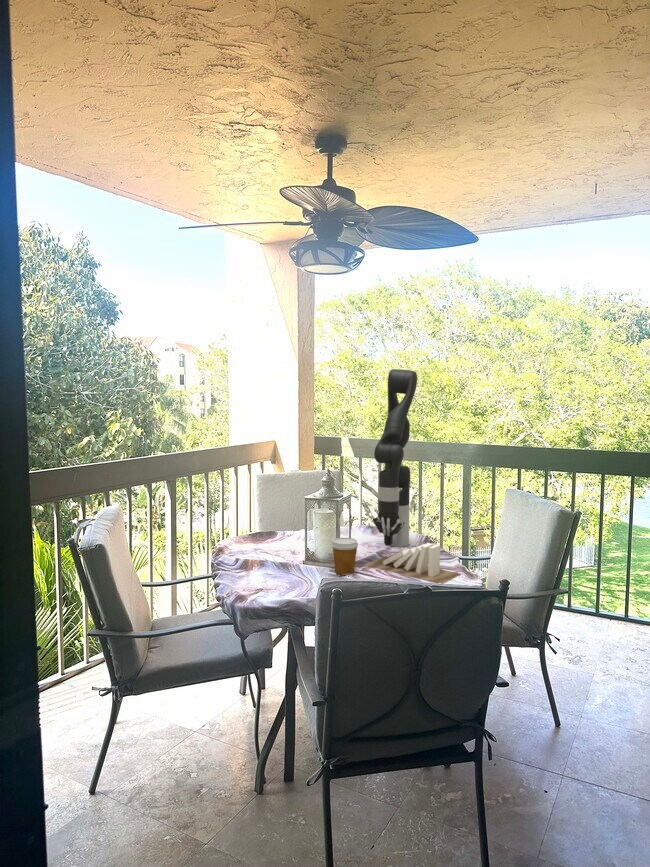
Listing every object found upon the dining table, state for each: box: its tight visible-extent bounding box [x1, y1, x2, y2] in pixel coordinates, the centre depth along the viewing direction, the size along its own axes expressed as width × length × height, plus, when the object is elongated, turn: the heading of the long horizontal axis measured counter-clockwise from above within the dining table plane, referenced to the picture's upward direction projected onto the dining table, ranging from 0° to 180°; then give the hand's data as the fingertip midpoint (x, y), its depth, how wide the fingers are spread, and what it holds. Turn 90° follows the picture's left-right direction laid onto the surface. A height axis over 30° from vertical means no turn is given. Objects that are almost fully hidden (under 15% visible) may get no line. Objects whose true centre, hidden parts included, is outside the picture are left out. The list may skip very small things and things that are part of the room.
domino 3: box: [405, 543, 426, 571], centre depth 202 cm, size 2×5×10 cm, turn 139°
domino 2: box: [393, 546, 418, 568], centre depth 204 cm, size 2×5×10 cm
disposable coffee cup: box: [331, 537, 359, 577], centre depth 201 cm, size 10×10×12 cm
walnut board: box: [364, 556, 462, 585], centre depth 203 cm, size 32×14×1 cm, turn 50°
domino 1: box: [382, 548, 410, 565], centre depth 207 cm, size 2×5×10 cm
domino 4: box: [416, 542, 434, 574], centre depth 200 cm, size 2×5×10 cm, turn 140°
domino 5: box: [428, 544, 441, 577], centre depth 197 cm, size 2×5×10 cm, turn 140°
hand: (388, 545), depth 209 cm, fingers closed
